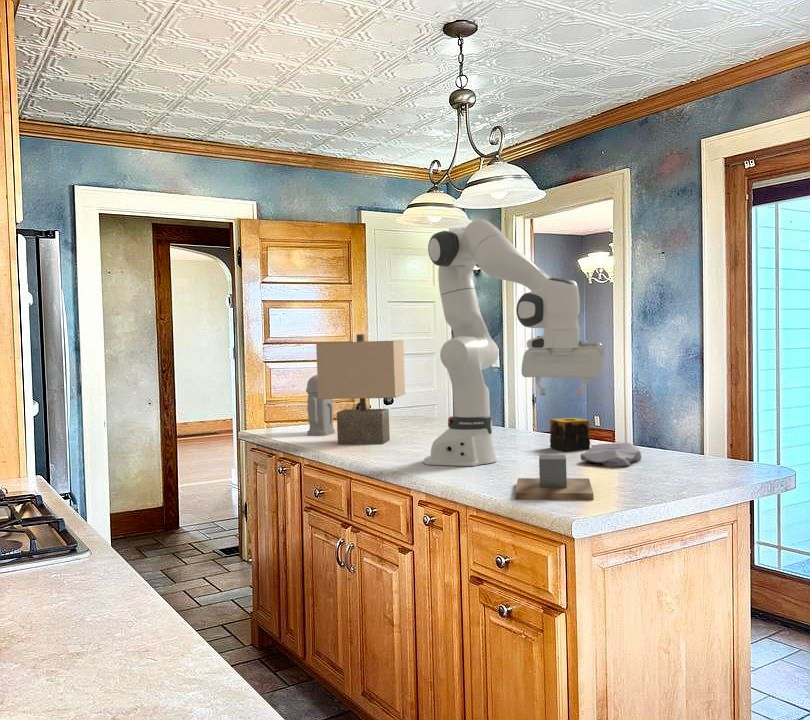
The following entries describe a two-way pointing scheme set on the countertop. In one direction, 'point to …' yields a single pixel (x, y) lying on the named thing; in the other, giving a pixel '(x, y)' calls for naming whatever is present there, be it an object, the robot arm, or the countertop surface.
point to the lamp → (361, 384)
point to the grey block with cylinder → (552, 471)
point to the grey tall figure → (318, 411)
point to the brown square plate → (554, 490)
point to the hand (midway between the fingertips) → (561, 395)
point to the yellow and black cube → (569, 434)
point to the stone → (612, 454)
